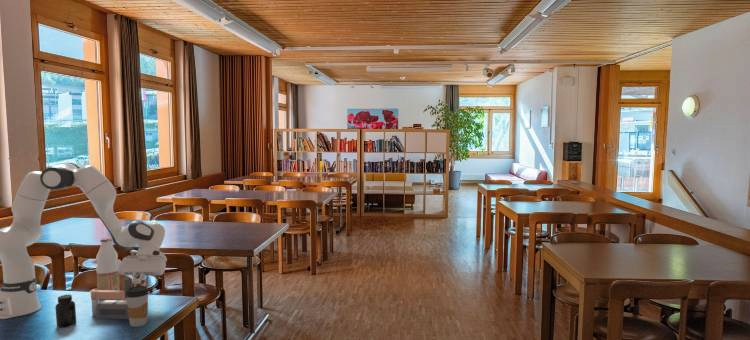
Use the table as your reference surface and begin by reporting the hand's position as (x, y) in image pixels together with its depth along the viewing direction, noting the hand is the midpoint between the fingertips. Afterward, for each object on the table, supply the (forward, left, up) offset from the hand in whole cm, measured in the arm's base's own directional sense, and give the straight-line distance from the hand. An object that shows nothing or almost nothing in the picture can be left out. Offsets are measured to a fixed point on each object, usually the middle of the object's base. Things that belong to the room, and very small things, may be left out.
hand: (135, 283), depth 205 cm
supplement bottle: (-21, -15, -13) cm, 29 cm away
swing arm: (-7, -6, -5) cm, 11 cm away
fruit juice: (-26, +20, -13) cm, 35 cm away
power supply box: (-7, -6, -13) cm, 16 cm away
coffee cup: (+8, -14, -13) cm, 21 cm away
